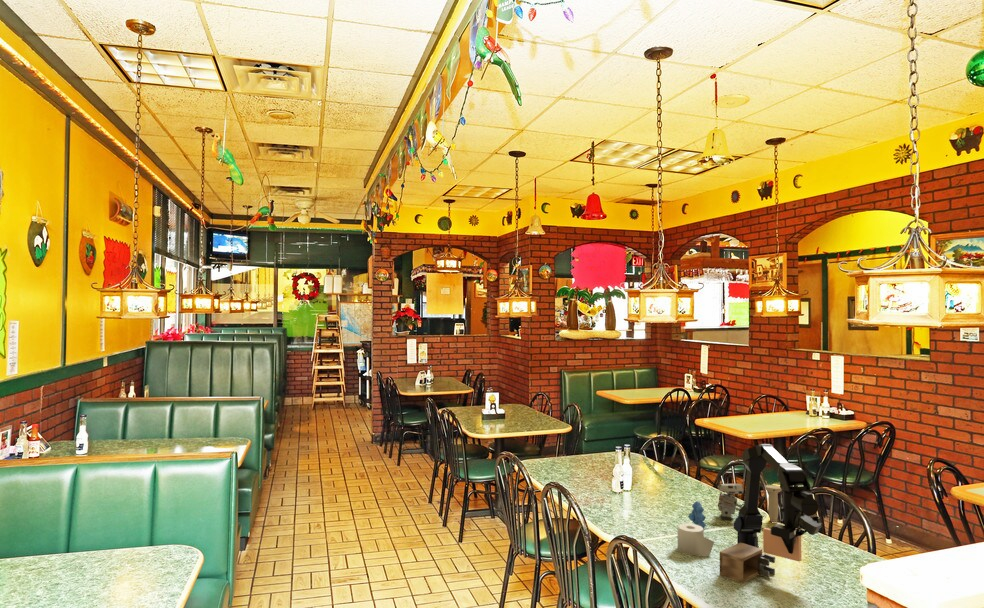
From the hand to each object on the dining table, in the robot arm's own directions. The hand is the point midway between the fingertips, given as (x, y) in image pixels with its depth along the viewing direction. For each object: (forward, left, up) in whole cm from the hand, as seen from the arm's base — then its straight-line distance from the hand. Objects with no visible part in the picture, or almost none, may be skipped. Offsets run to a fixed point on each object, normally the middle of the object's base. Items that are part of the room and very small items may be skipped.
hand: (792, 552), depth 201 cm
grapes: (-47, +18, -10) cm, 52 cm away
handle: (-33, +56, -10) cm, 66 cm away
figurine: (-47, +46, -10) cm, 67 cm away
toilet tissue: (-36, -2, -10) cm, 38 cm away
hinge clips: (-9, 0, -10) cm, 13 cm away
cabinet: (-14, -7, -10) cm, 19 cm away
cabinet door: (-3, 0, -2) cm, 4 cm away
